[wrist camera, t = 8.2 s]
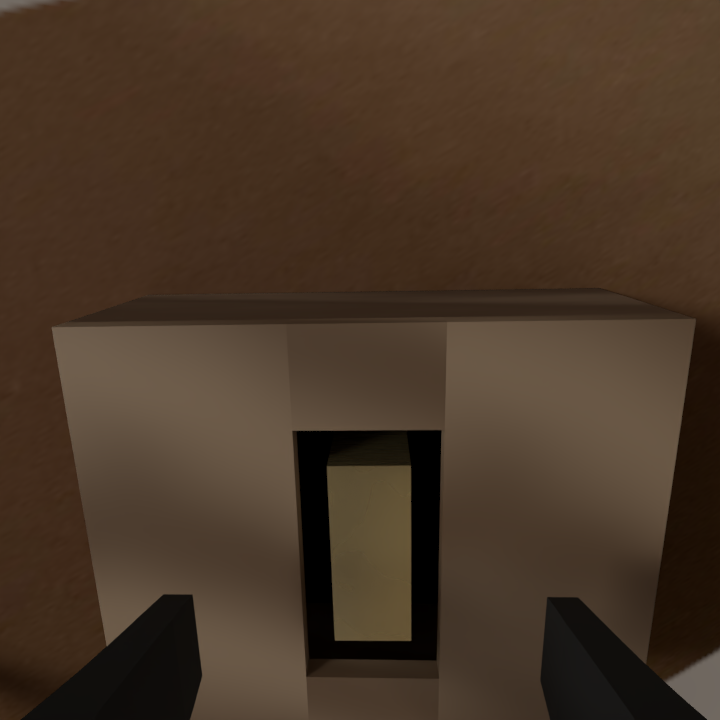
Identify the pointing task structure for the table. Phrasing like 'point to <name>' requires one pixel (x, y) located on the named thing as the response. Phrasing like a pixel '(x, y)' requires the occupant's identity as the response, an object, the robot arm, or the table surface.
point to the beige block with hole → (377, 412)
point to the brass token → (370, 534)
